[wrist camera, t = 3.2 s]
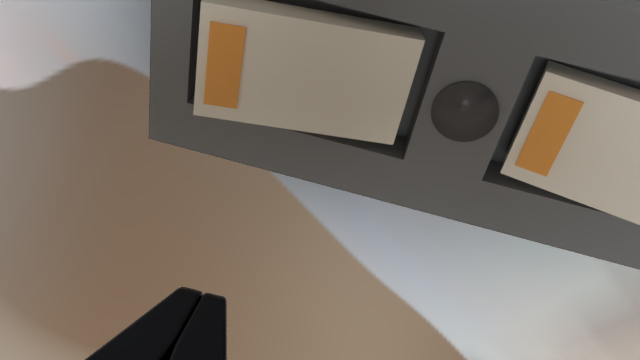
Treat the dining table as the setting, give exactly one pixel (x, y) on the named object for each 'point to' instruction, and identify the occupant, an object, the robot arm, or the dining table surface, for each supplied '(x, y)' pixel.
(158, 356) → the robot arm
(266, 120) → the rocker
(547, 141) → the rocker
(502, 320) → the dining table surface
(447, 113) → the rocker switch box
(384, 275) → the dining table surface
